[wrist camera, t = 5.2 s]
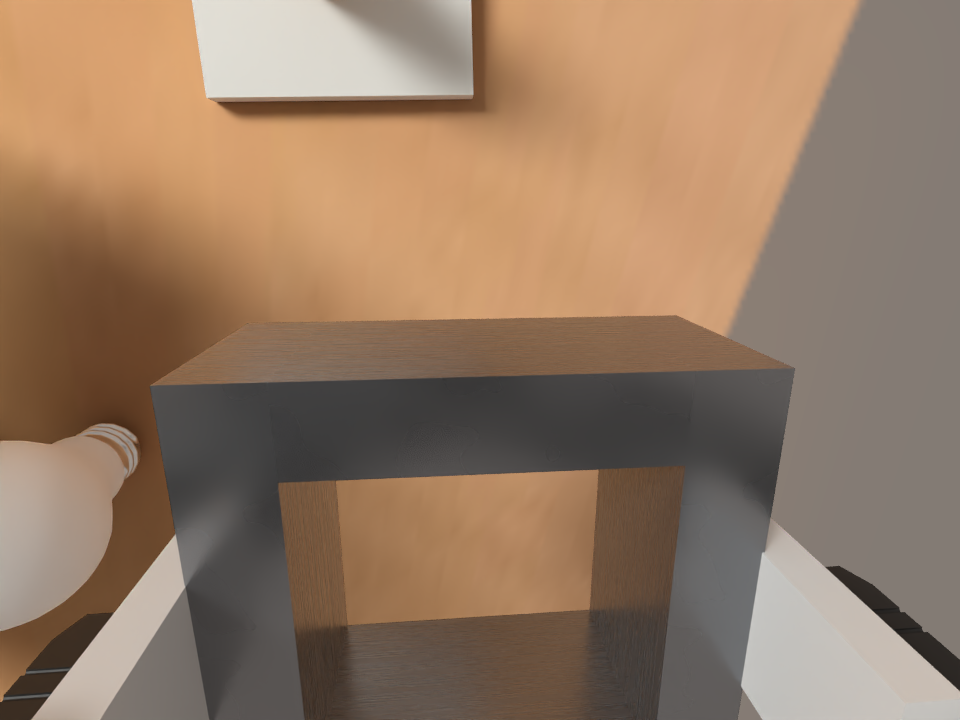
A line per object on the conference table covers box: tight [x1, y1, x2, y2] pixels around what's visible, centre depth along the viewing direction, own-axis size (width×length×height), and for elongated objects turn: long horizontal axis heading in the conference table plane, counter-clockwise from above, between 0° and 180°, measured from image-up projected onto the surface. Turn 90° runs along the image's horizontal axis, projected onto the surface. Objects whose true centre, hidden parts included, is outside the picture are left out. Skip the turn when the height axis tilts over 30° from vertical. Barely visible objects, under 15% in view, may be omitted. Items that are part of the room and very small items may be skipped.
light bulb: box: [0, 423, 141, 631], centre depth 22 cm, size 7×7×11 cm
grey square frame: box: [150, 316, 795, 720], centre depth 11 cm, size 9×9×4 cm
